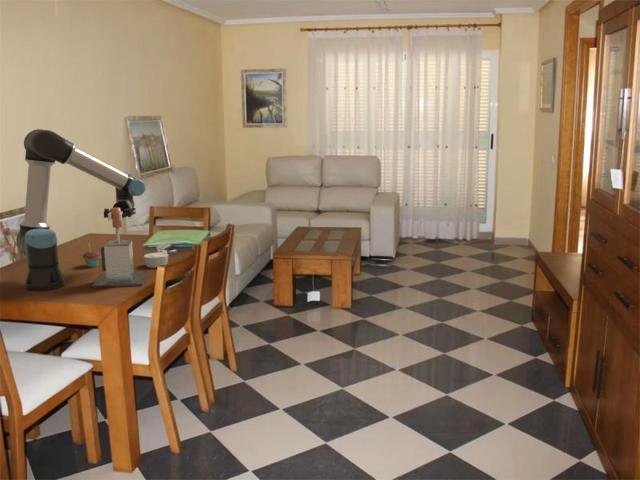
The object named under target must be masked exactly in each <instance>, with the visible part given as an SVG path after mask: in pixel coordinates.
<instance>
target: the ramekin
mask: <svg viewBox="0 0 640 480" xmlns="http://www.w3.org/2000/svg"><path fill="white" fill-rule="evenodd" d="M143 259H144V262H145V265H146V267H147V268H152V269H157V268H156V267H157V266H158V265H166V264H168V261H169V253H166V252H149V253H145V254H144V255H143ZM166 266H167V265H166Z"/></svg>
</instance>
